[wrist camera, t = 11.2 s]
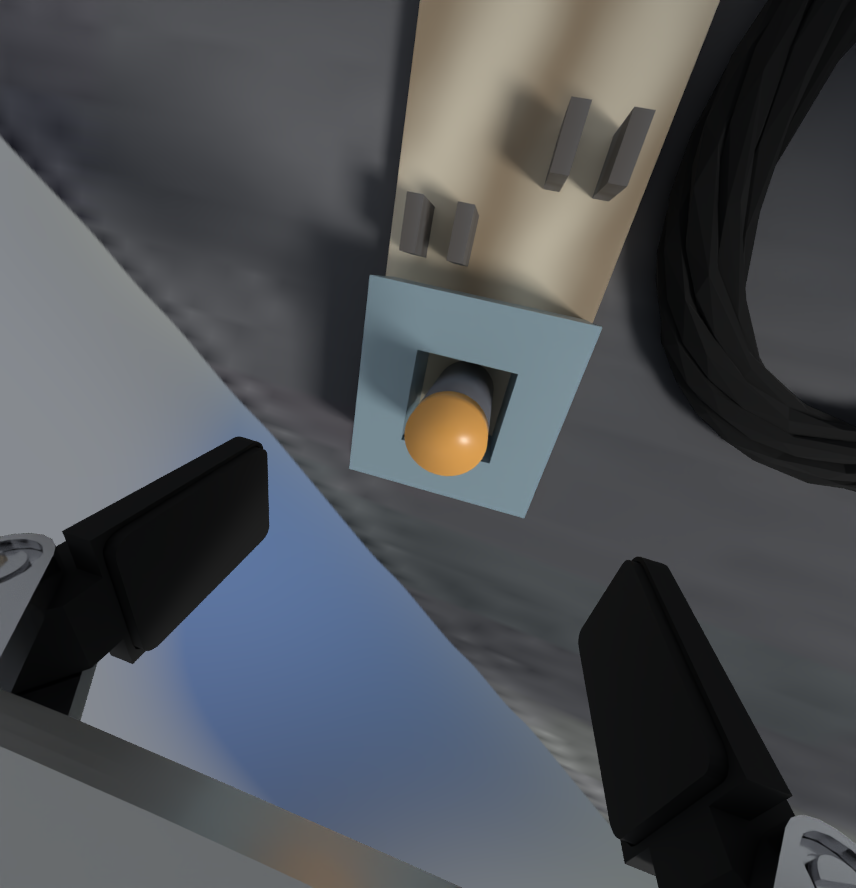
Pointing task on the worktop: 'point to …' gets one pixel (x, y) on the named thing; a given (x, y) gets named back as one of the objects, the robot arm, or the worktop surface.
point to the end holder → (476, 341)
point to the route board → (534, 146)
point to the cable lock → (748, 242)
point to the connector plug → (452, 421)
